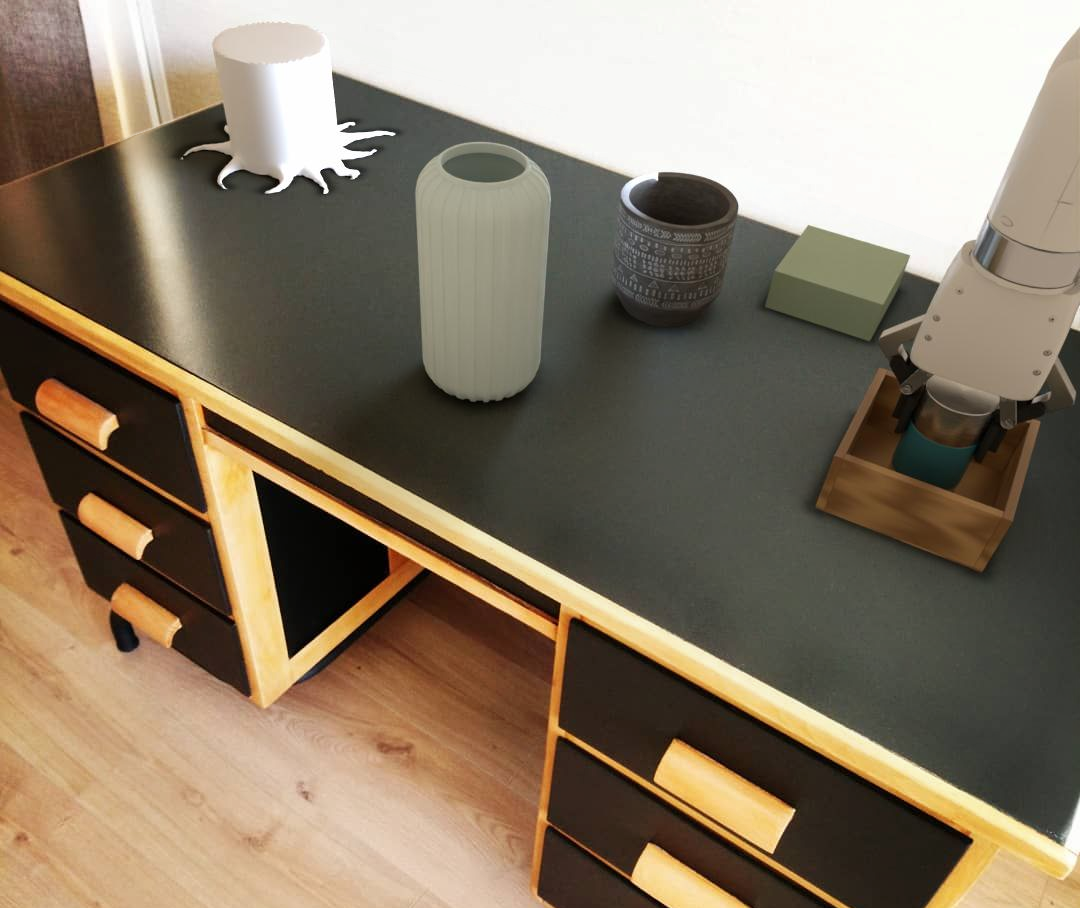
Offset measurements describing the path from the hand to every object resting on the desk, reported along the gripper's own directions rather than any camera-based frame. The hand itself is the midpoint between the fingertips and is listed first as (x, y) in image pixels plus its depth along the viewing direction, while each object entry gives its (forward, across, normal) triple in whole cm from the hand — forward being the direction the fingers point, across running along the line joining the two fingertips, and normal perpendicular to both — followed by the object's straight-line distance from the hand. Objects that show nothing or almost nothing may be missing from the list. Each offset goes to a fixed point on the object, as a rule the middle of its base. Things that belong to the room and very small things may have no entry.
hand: (940, 437), depth 81 cm
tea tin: (+6, 0, 0) cm, 6 cm away
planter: (+7, +32, -15) cm, 36 cm away
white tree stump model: (+7, +90, -21) cm, 93 cm away
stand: (+7, +16, -27) cm, 32 cm away
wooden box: (+7, 0, 0) cm, 7 cm away
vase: (+7, +42, +7) cm, 43 cm away
